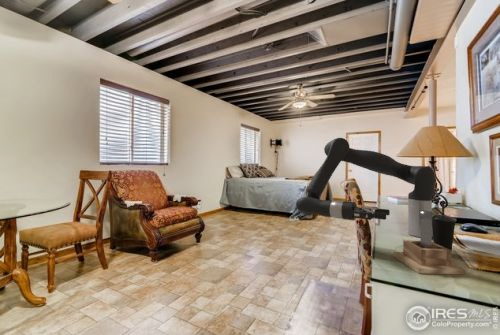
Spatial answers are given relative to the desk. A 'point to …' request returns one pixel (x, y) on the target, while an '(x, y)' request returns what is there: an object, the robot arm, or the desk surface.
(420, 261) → the wooden square box
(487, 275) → the desk surface
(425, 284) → the desk surface
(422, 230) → the ball topped joystick
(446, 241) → the drinking cup
